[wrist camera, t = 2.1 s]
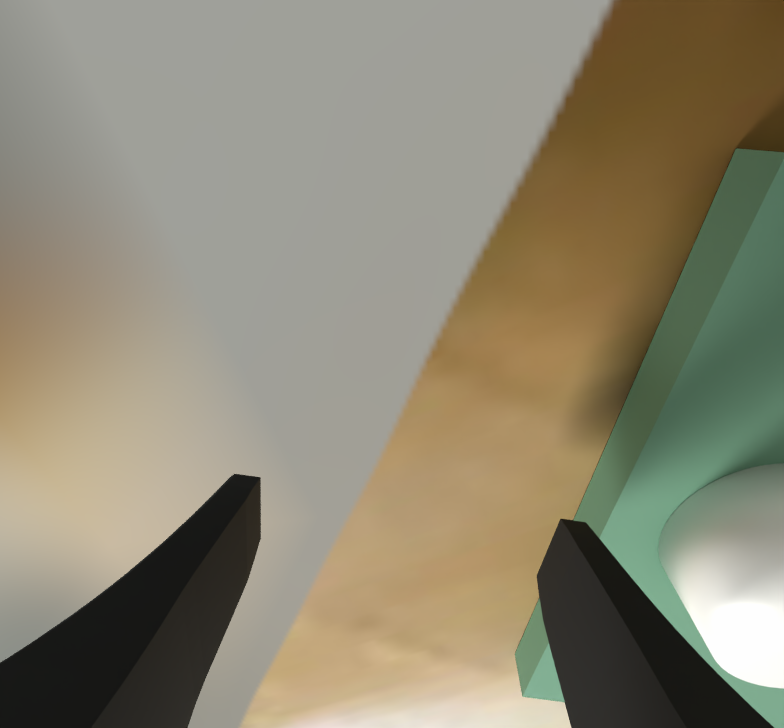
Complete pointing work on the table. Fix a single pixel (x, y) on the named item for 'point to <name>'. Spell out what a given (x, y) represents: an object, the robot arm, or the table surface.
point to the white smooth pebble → (733, 570)
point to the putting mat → (694, 407)
